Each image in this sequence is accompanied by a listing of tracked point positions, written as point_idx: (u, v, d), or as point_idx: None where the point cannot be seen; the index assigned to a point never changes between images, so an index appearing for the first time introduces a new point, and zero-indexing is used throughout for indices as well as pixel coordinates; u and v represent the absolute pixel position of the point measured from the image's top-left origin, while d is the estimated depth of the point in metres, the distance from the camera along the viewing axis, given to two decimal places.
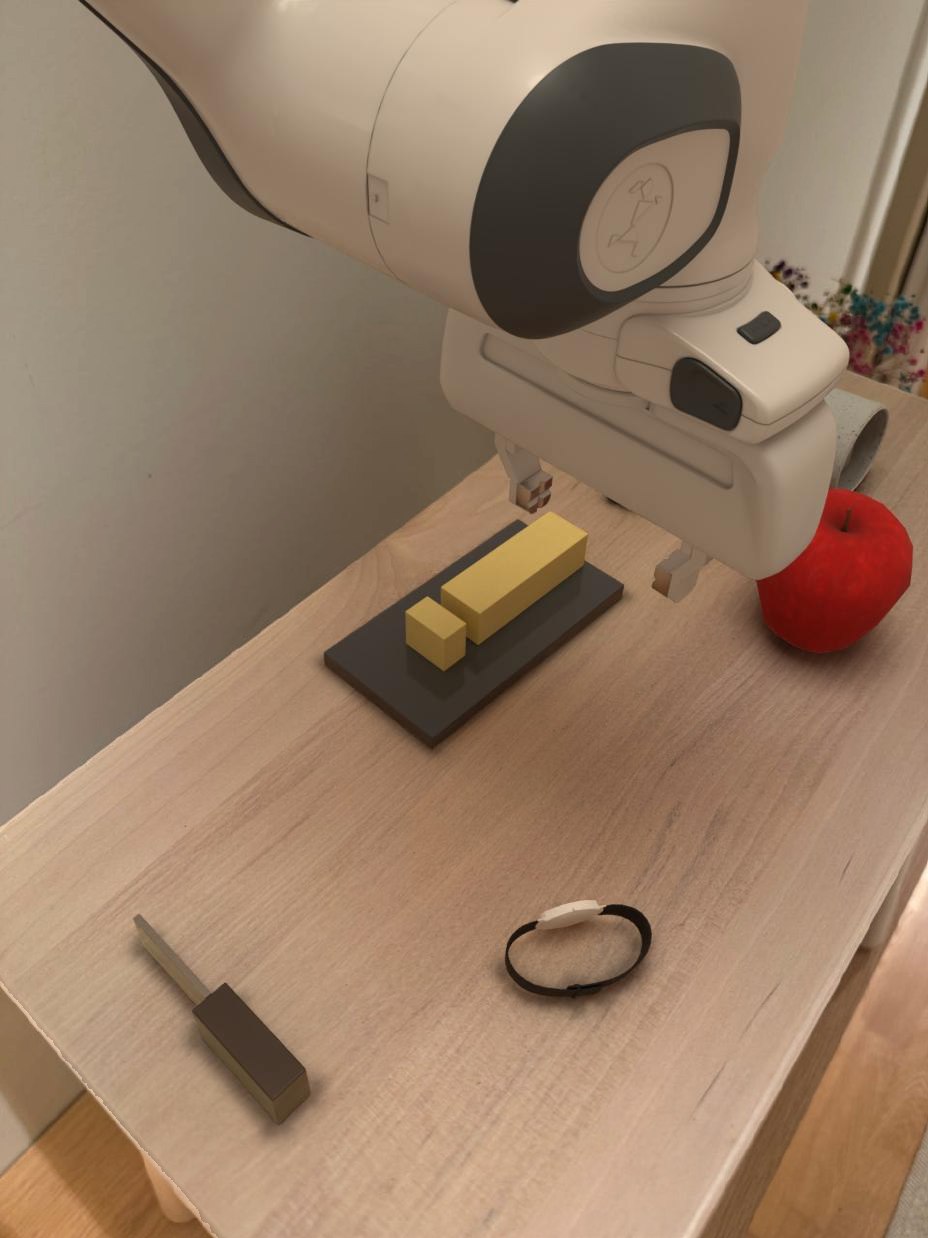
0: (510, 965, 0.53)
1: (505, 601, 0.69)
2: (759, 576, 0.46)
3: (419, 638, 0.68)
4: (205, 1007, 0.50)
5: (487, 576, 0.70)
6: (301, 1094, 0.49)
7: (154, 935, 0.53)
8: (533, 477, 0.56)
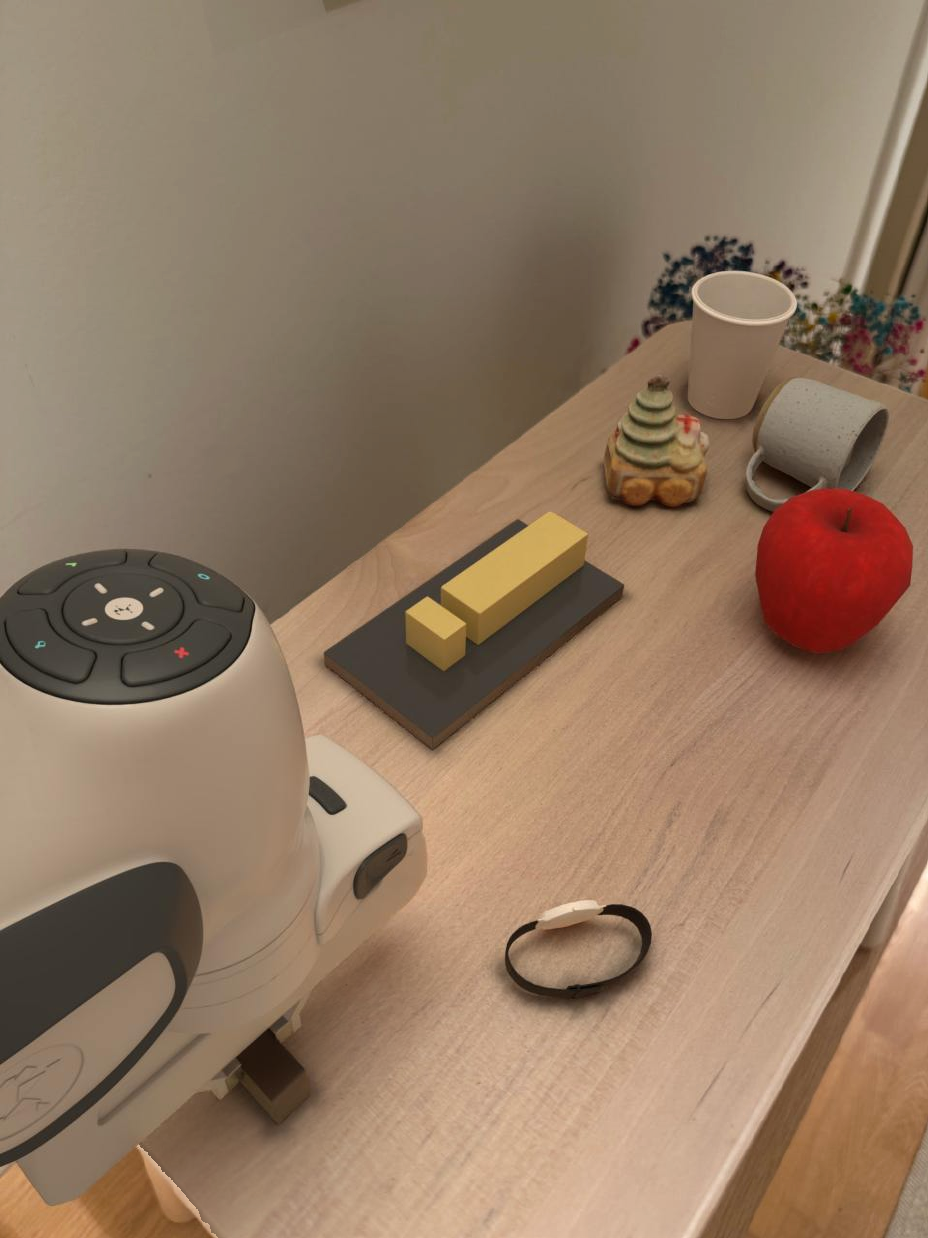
0: (510, 965, 0.53)
1: (505, 601, 0.69)
2: (418, 889, 0.51)
3: (419, 638, 0.68)
4: None
5: (487, 576, 0.70)
6: (301, 1094, 0.49)
7: None
8: None
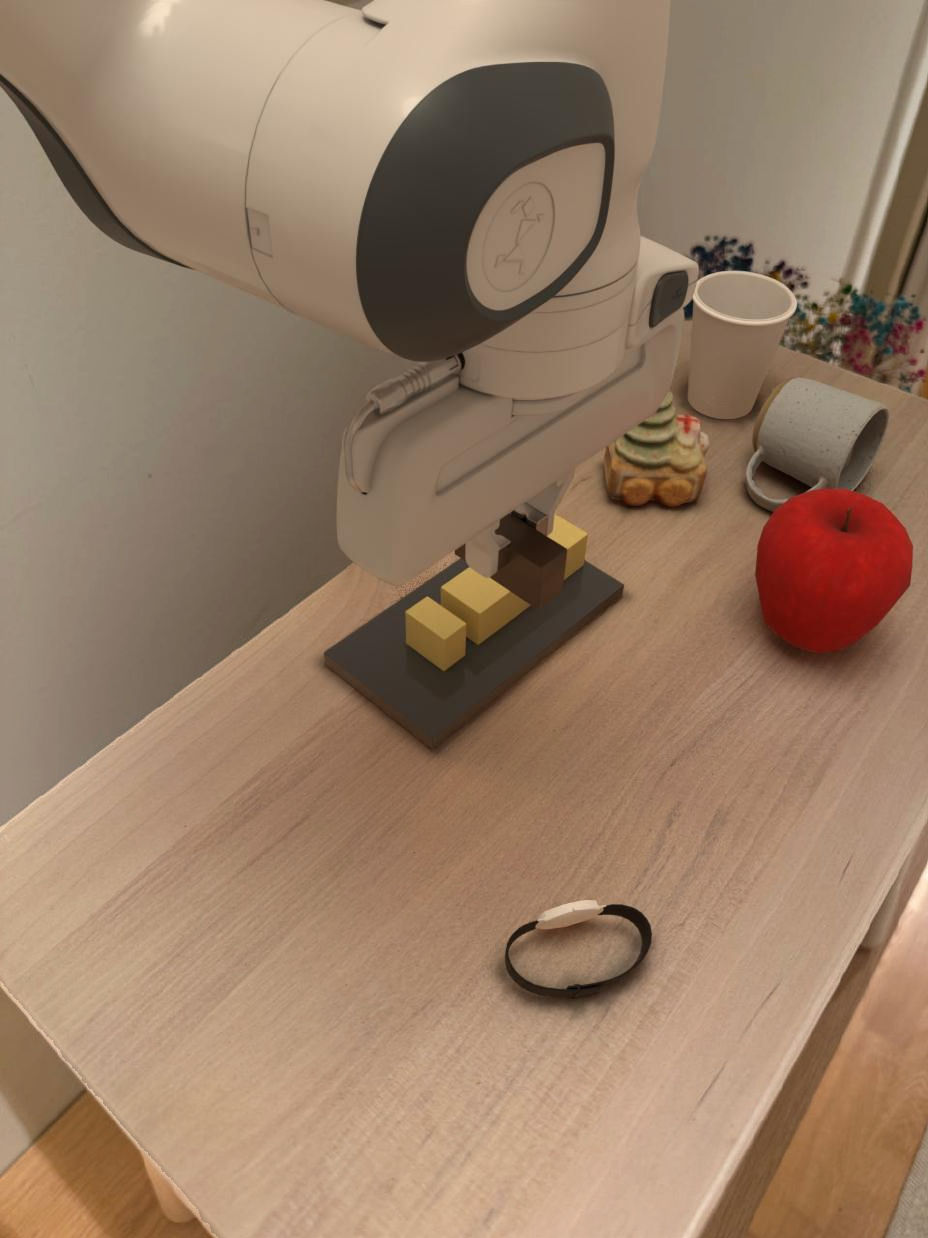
0: (510, 965, 0.53)
1: (505, 601, 0.69)
2: (660, 404, 0.55)
3: (419, 638, 0.68)
4: None
5: None
6: (558, 582, 0.54)
7: None
8: None
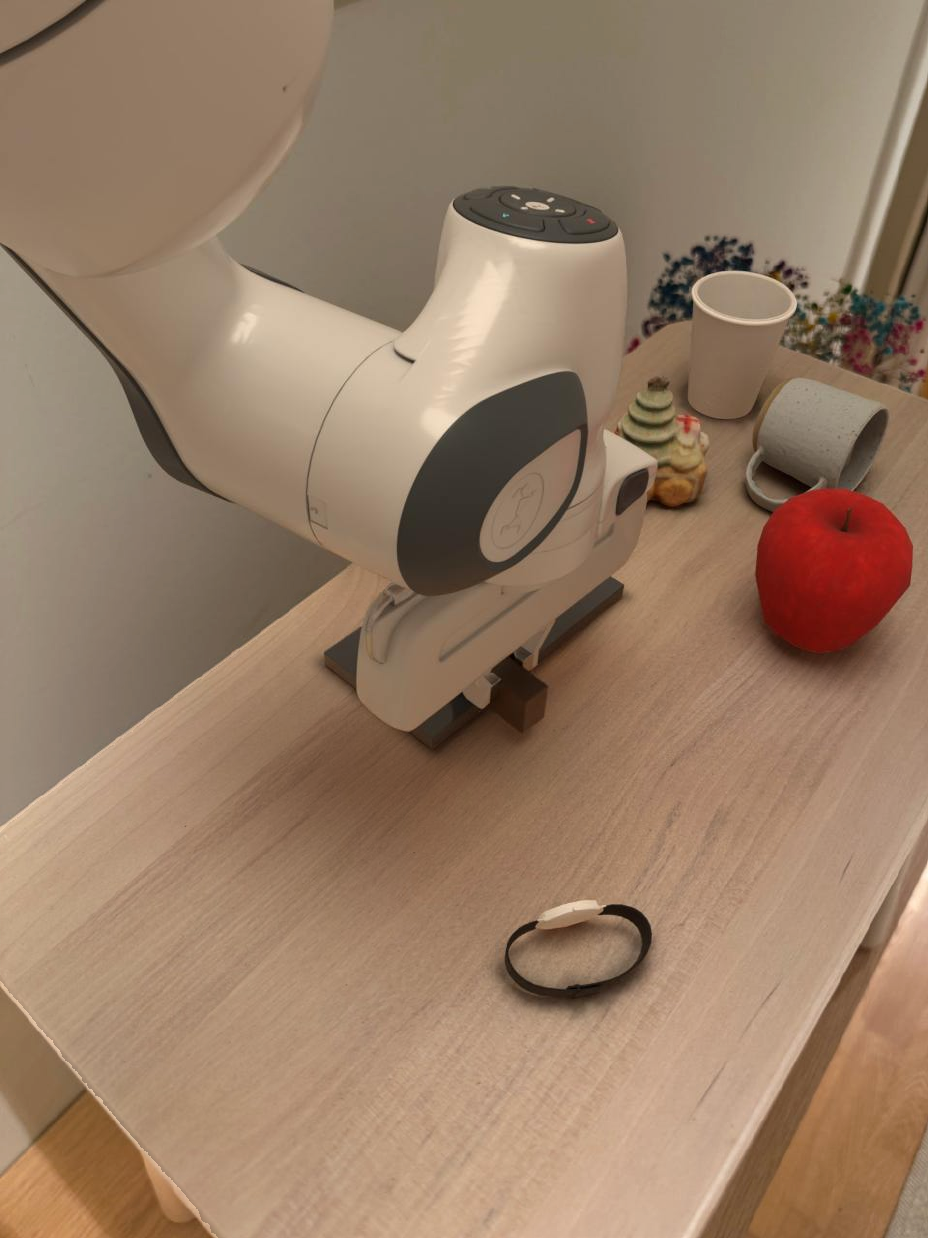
0: (510, 965, 0.53)
1: None
2: (628, 557, 0.65)
3: None
4: None
5: None
6: (540, 711, 0.64)
7: None
8: None
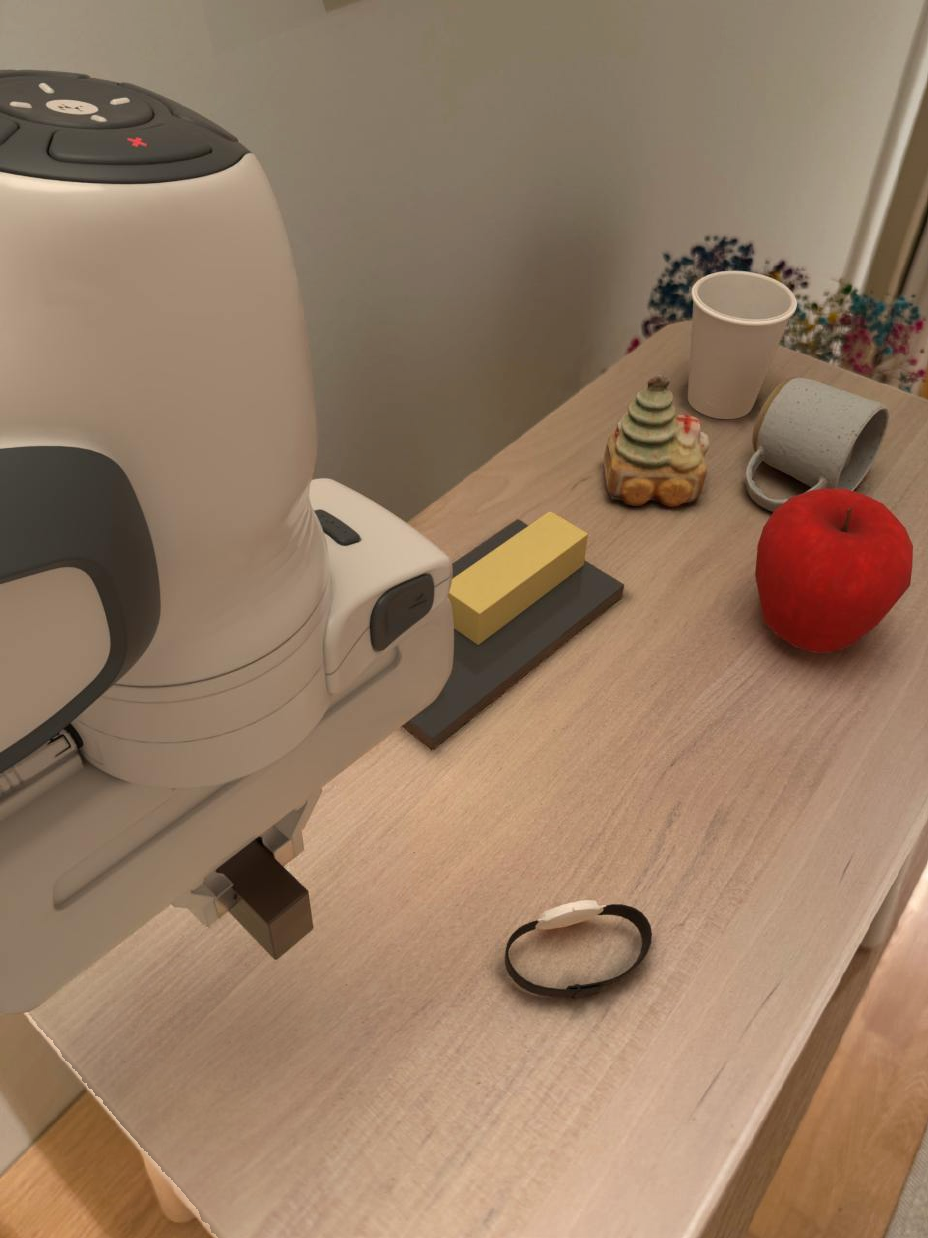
0: (510, 965, 0.53)
1: (505, 601, 0.69)
2: (442, 688, 0.43)
3: None
4: None
5: (487, 576, 0.70)
6: (303, 925, 0.42)
7: None
8: (205, 879, 0.40)
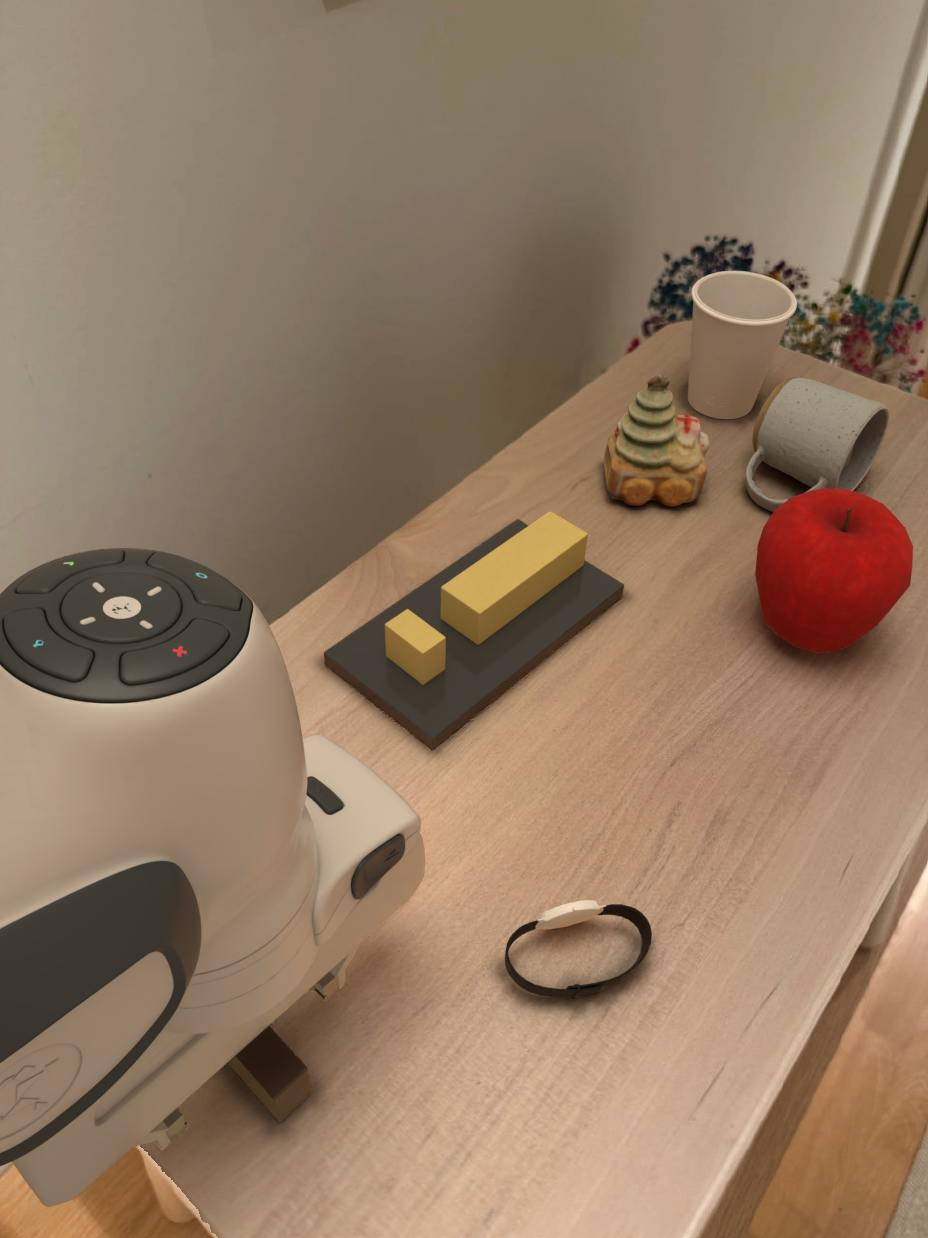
0: (510, 965, 0.53)
1: (505, 601, 0.69)
2: (416, 889, 0.50)
3: (398, 651, 0.67)
4: None
5: (487, 576, 0.70)
6: (303, 1092, 0.49)
7: None
8: None
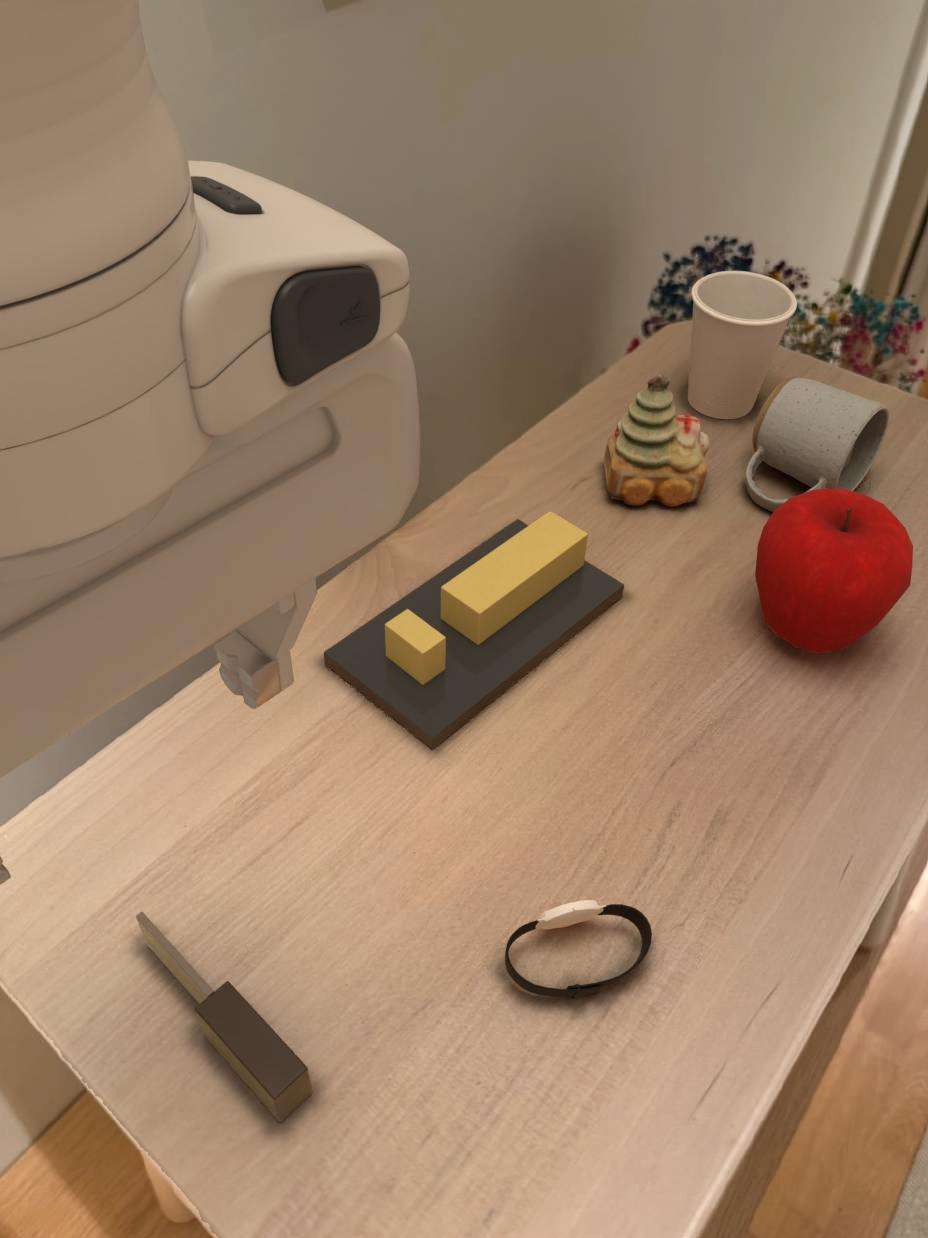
0: (510, 965, 0.53)
1: (505, 601, 0.69)
2: (405, 510, 0.30)
3: (398, 651, 0.67)
4: (207, 1005, 0.50)
5: (487, 576, 0.70)
6: (303, 1092, 0.49)
7: (157, 933, 0.53)
8: None
